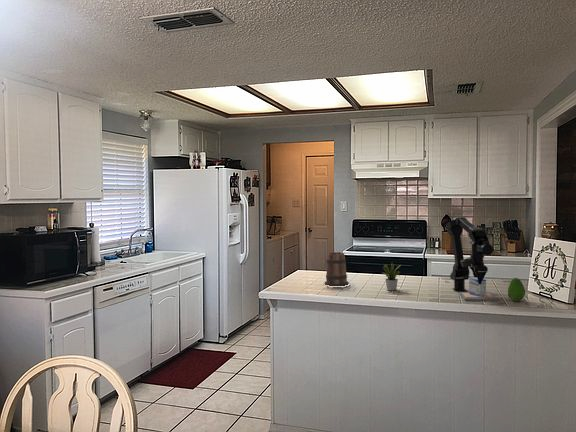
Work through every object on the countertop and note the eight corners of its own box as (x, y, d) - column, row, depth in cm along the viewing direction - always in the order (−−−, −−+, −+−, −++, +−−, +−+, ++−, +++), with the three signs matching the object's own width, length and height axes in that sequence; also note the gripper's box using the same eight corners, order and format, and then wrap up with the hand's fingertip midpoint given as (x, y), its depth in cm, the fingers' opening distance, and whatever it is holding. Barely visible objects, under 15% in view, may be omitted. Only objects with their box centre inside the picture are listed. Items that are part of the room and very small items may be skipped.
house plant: (374, 291, 279) (374, 263, 278) (379, 287, 292) (378, 260, 291) (400, 293, 274) (399, 264, 273) (403, 288, 287) (403, 260, 286)
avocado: (508, 302, 244) (508, 278, 244) (507, 299, 252) (507, 276, 251) (526, 303, 241) (526, 279, 241) (524, 300, 249) (524, 276, 248)
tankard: (347, 288, 291) (346, 255, 290) (319, 287, 296) (319, 254, 295) (354, 281, 313) (354, 250, 312) (328, 280, 318) (328, 249, 317)
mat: (459, 294, 266) (459, 291, 266) (490, 294, 264) (490, 292, 264) (464, 300, 251) (464, 298, 251) (497, 301, 248) (497, 298, 248)
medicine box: (468, 293, 260) (468, 277, 259) (475, 292, 262) (474, 276, 261) (480, 296, 253) (479, 280, 252) (486, 295, 255) (486, 279, 254)
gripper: (458, 250, 267) (458, 279, 267) (464, 255, 248) (465, 285, 249) (479, 250, 265) (480, 279, 265) (487, 255, 246) (488, 285, 247)
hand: (477, 282), depth 257 cm, fingers open, 9 cm apart
